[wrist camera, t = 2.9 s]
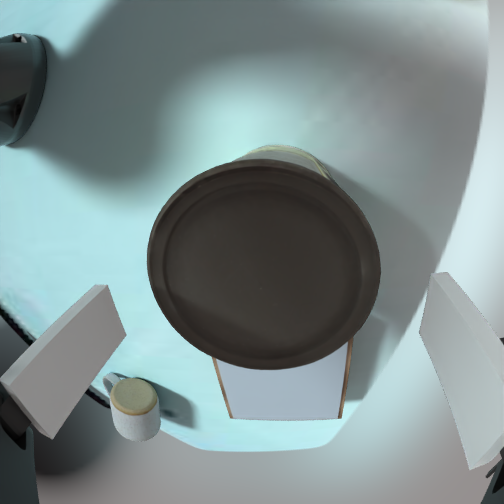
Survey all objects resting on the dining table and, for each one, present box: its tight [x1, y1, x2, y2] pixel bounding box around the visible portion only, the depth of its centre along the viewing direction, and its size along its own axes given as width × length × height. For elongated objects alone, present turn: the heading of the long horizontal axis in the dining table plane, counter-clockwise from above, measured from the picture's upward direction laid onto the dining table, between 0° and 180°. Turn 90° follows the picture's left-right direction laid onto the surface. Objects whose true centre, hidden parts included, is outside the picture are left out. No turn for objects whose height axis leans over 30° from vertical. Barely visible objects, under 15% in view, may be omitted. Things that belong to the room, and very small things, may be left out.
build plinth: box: [212, 337, 353, 420], centre depth 29 cm, size 13×13×5 cm
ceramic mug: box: [103, 373, 161, 441], centre depth 36 cm, size 11×8×8 cm
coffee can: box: [147, 145, 381, 370], centre depth 19 cm, size 10×10×14 cm
